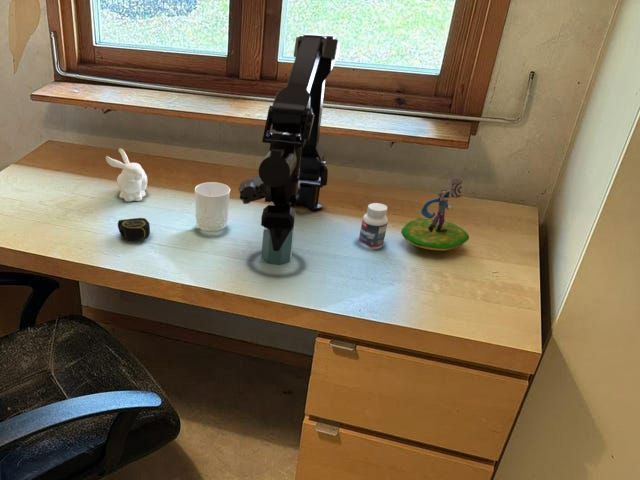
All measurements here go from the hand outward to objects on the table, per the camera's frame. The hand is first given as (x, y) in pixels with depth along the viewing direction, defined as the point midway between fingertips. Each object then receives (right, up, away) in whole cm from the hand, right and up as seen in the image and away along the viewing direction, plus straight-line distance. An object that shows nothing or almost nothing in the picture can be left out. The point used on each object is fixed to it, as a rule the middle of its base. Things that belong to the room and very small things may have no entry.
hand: (278, 240), depth 142 cm
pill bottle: (+22, +1, +9) cm, 24 cm away
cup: (0, -3, +2) cm, 4 cm away
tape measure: (-30, +3, +14) cm, 34 cm away
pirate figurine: (+35, 0, +8) cm, 36 cm away
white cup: (-13, +5, +16) cm, 21 cm away
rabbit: (-32, +16, +32) cm, 48 cm away
